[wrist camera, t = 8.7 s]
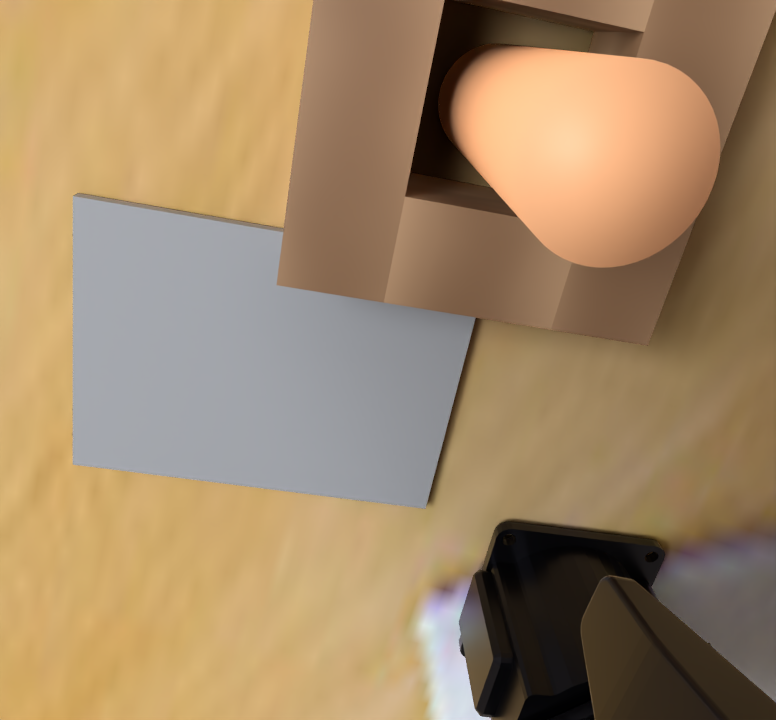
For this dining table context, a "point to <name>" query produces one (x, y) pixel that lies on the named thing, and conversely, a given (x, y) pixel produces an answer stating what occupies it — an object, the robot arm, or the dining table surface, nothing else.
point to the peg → (585, 146)
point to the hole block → (468, 201)
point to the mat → (248, 363)
